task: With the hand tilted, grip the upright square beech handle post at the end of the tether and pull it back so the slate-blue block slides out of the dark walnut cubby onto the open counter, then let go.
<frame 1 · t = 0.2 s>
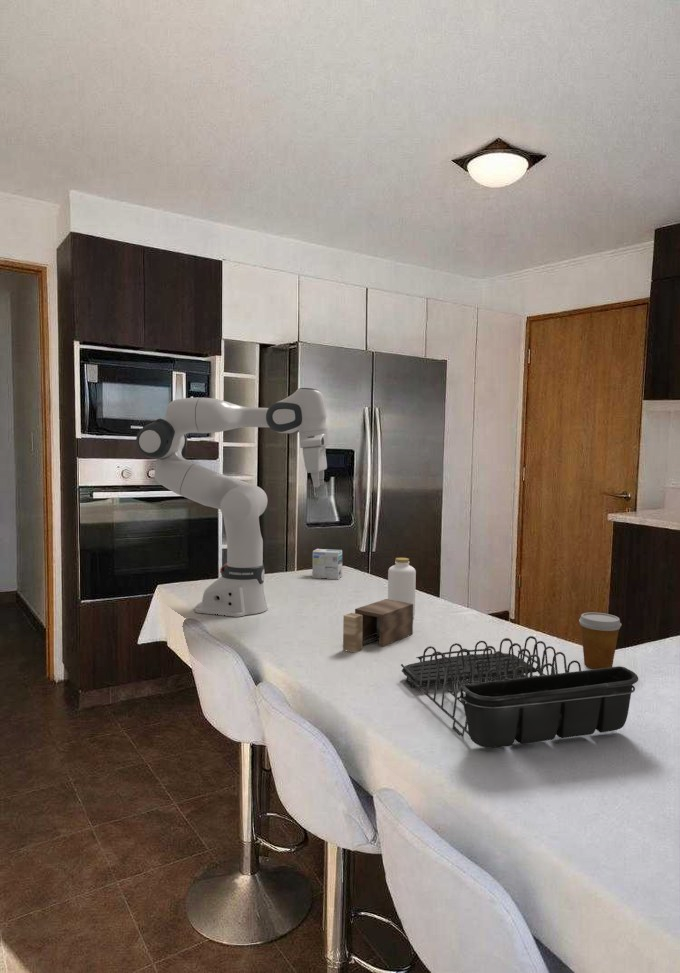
hand: (319, 486, 204), 39 cm above the table, tool pointing down, fingers open, 8 cm apart
dish rack: (500, 706, 137), on the table
tethered block: (389, 635, 185), on the table
cubby: (383, 637, 182), on the table
light bulb box: (327, 578, 261), on the table
potion bottle: (401, 617, 203), on the table
disposable coffee cup: (598, 666, 161), on the table
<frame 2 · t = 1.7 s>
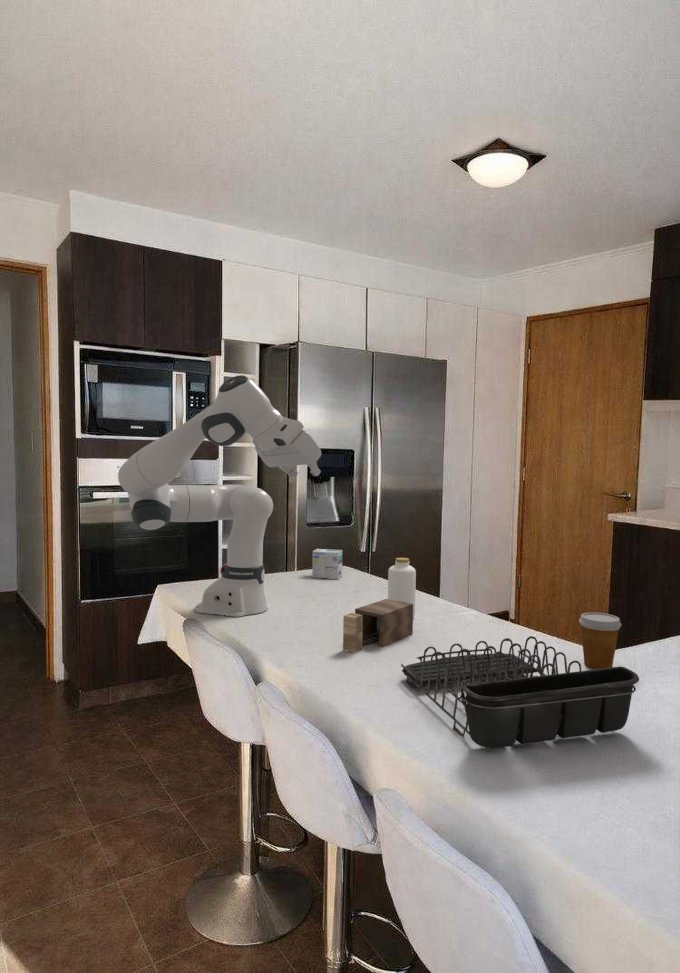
hand: (306, 475, 166), 45 cm above the table, tool tilted 45°, fingers open, 8 cm apart
nothing on the table moved.
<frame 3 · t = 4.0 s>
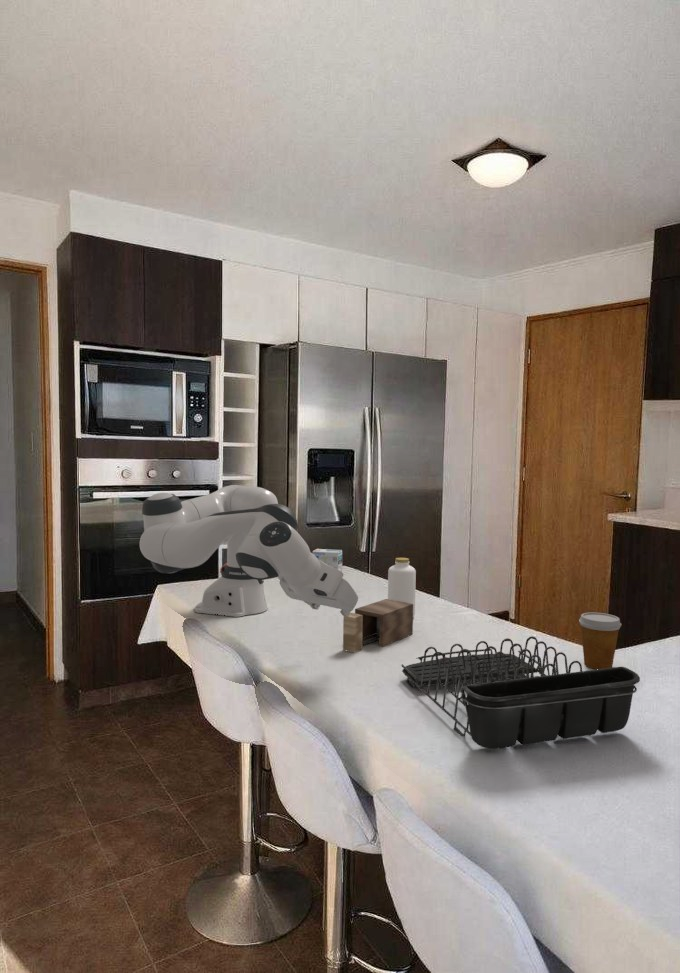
hand: (331, 610, 163), 12 cm above the table, tool tilted 45°, fingers open, 8 cm apart
nothing on the table moved.
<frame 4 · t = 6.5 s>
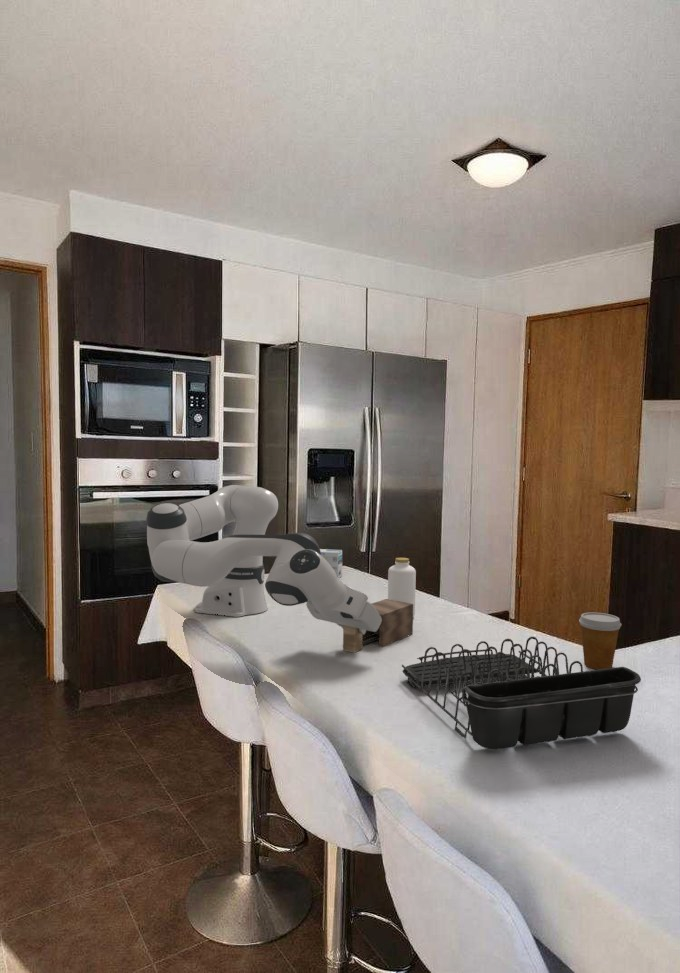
hand: (355, 630, 172), 5 cm above the table, tool tilted 45°, fingers closed on tethered block, 3 cm apart
tethered block: (389, 635, 185), on the table, touching gripper
everything else where it was.
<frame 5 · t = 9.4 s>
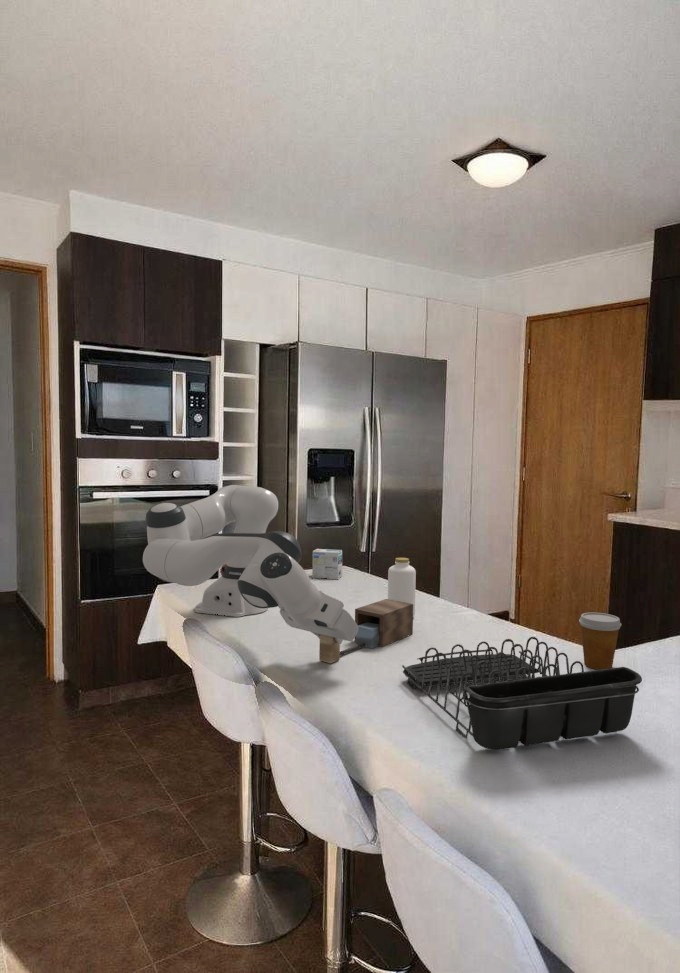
hand: (331, 639, 163), 5 cm above the table, tool tilted 45°, fingers closed on tethered block, 3 cm apart
tethered block: (369, 644, 176), on the table, touching gripper
everything else where it was.
when the fingers open (5 cm above the table, at t = 12.2 s): tethered block stays where it is, on the table.
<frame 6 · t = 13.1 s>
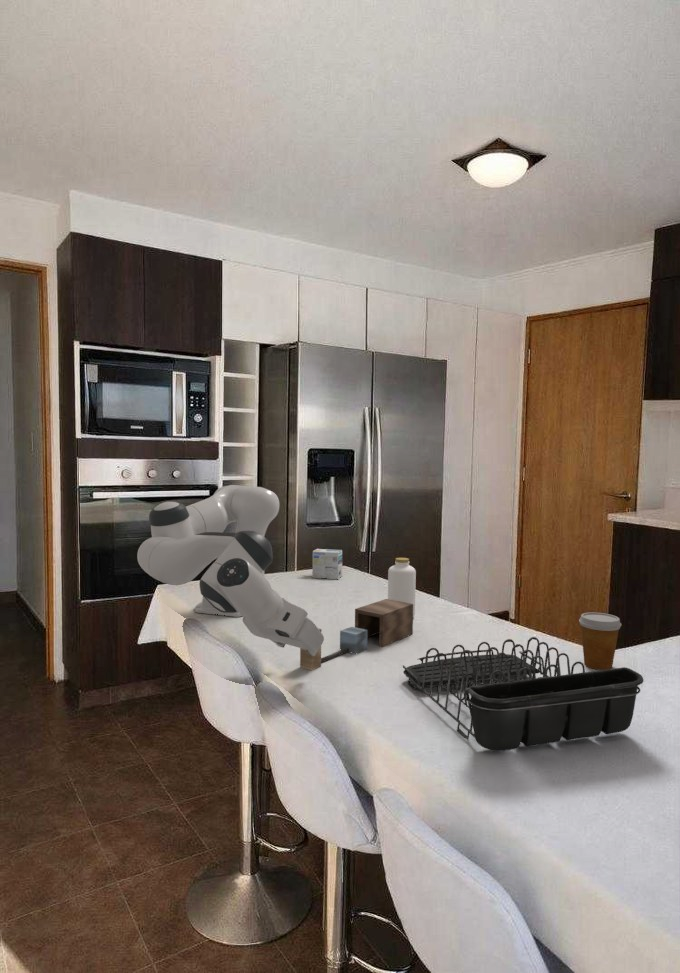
hand: (298, 648, 154), 5 cm above the table, tool tilted 45°, fingers open, 8 cm apart
tethered block: (353, 649, 171), on the table
everything else where it was.
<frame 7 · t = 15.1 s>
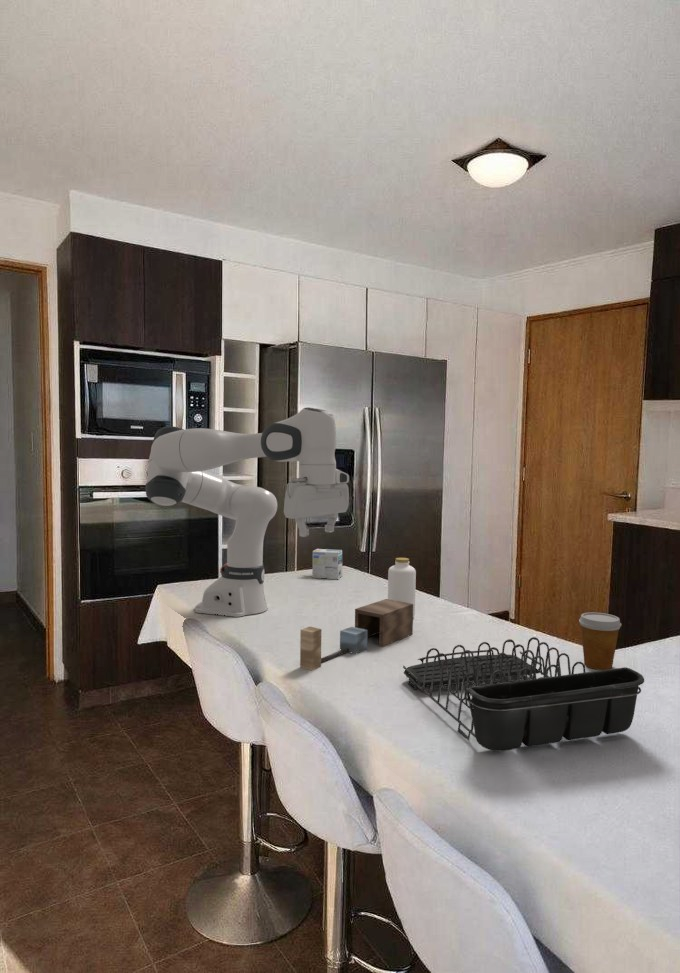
hand: (317, 534, 160), 31 cm above the table, tool pointing down, fingers open, 8 cm apart
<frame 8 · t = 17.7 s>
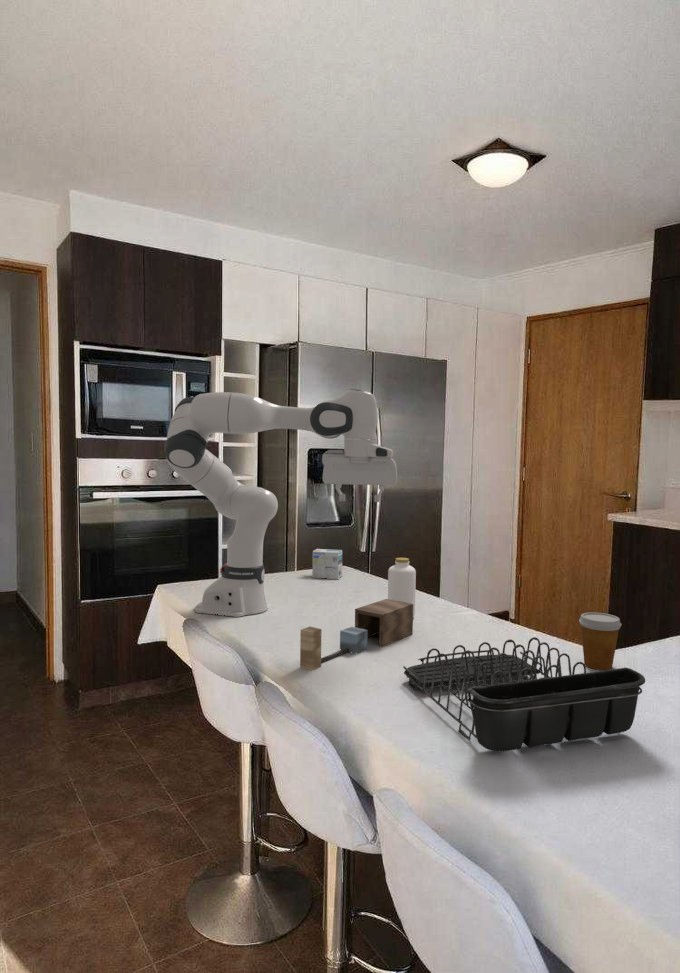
hand: (359, 501, 181), 37 cm above the table, tool pointing down, fingers open, 8 cm apart
at the end: tethered block inside the target area (10.5 cm from its centre), on the table; the gripper is holding nothing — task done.
